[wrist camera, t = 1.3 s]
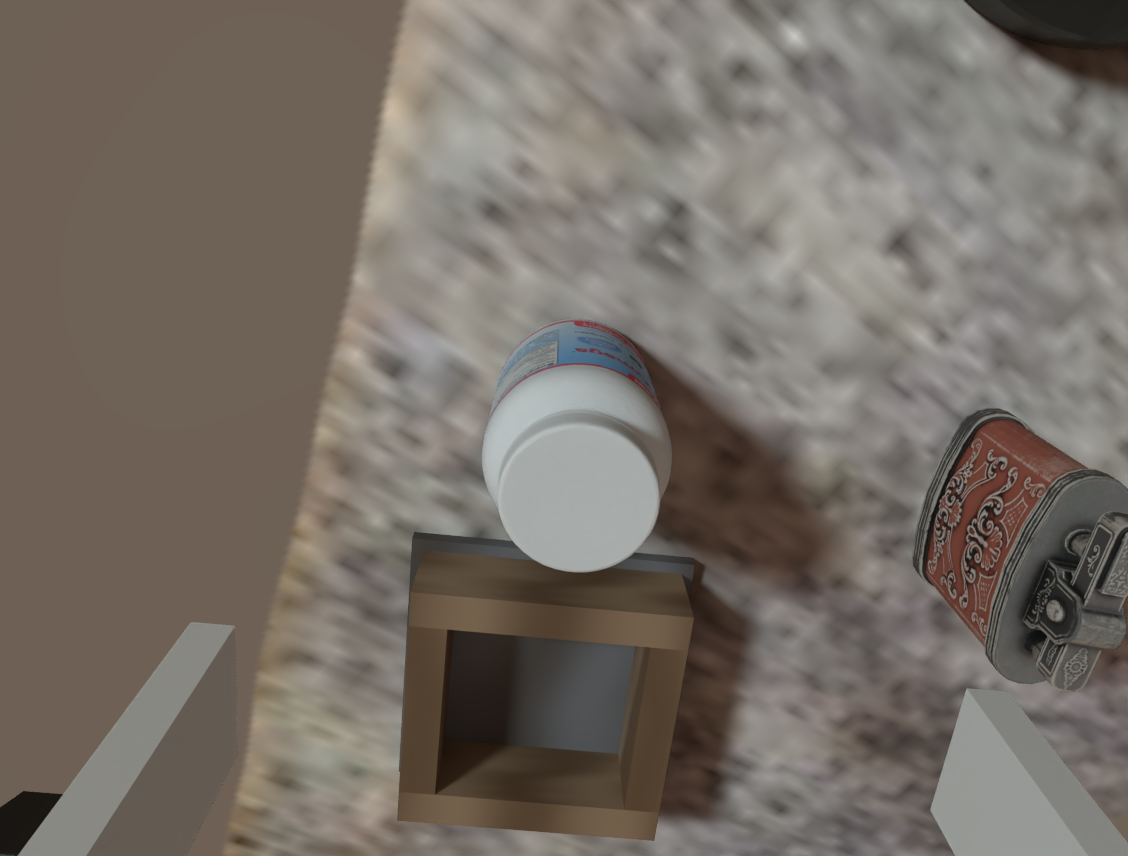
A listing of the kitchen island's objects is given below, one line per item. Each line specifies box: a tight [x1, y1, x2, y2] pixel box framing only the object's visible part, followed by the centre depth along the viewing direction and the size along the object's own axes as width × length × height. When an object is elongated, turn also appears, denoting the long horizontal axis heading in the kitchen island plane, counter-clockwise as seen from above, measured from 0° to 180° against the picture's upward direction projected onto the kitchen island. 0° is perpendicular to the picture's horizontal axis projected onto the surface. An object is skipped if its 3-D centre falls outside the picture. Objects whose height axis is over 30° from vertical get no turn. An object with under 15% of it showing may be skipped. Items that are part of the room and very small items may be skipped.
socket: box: [397, 532, 695, 841], centre depth 37 cm, size 12×12×4 cm
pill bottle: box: [482, 319, 672, 572], centre depth 30 cm, size 6×6×11 cm
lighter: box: [912, 408, 1128, 692], centre depth 32 cm, size 8×3×10 cm, turn 169°
